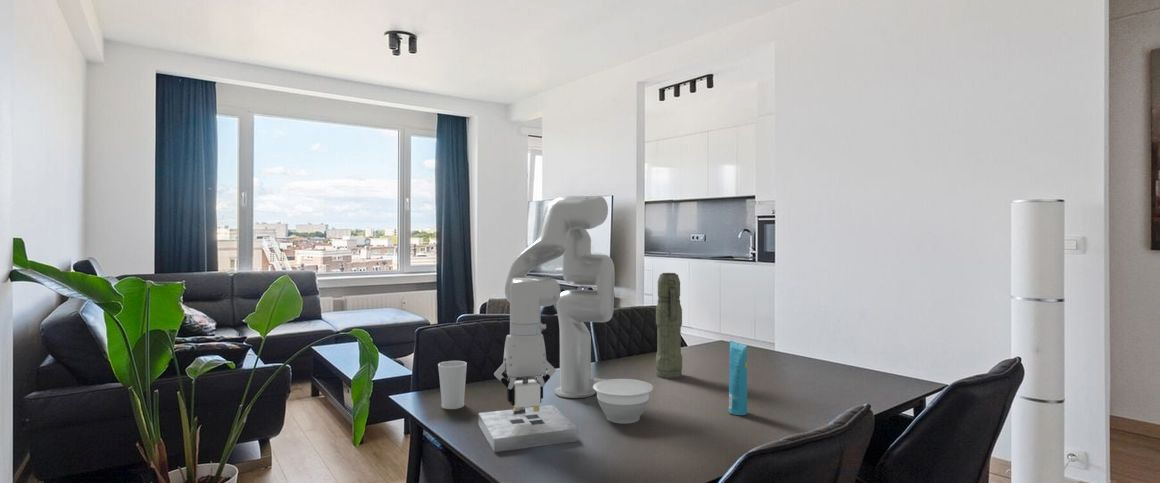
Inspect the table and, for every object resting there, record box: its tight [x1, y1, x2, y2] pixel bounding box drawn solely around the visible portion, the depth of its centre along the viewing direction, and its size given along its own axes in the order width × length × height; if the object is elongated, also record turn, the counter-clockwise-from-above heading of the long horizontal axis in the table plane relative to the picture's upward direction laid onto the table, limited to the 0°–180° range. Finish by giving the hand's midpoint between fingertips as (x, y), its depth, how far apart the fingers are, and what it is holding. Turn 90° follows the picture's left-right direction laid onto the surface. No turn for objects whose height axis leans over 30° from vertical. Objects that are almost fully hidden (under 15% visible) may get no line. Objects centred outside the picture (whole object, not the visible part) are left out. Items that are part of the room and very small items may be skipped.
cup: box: [437, 360, 468, 410], centre depth 168 cm, size 8×8×12 cm
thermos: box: [655, 272, 683, 380], centre depth 201 cm, size 9×12×35 cm
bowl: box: [593, 378, 654, 424], centre depth 157 cm, size 16×16×9 cm
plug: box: [513, 377, 541, 412], centre depth 145 cm, size 6×6×8 cm
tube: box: [728, 339, 748, 416], centre depth 160 cm, size 7×5×19 cm, turn 26°
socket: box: [478, 404, 579, 453], centre depth 146 cm, size 20×20×4 cm
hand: (525, 402), depth 145 cm, fingers closed on plug, 6 cm apart
